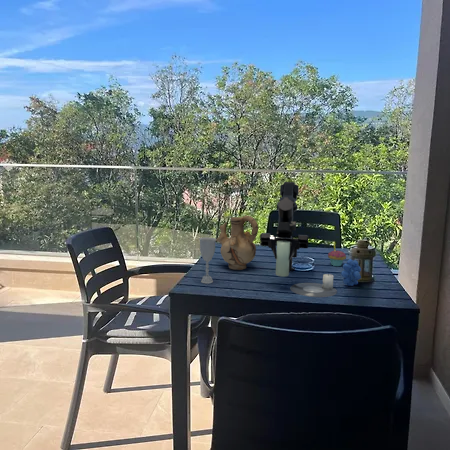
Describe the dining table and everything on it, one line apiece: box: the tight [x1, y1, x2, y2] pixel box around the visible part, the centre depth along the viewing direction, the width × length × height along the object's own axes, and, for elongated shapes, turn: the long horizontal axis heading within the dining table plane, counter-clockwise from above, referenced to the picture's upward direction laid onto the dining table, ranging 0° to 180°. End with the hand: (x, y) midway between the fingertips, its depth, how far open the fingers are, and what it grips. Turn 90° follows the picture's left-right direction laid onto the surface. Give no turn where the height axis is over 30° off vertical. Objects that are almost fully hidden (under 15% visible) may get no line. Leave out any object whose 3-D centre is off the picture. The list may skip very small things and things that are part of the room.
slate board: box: [289, 282, 338, 298], centre depth 178 cm, size 18×18×1 cm
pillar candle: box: [275, 240, 290, 278], centre depth 176 cm, size 5×5×14 cm
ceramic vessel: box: [215, 215, 259, 271], centre depth 210 cm, size 18×19×25 cm
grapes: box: [340, 258, 362, 287], centre depth 184 cm, size 12×7×12 cm, turn 128°
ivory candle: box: [322, 273, 334, 289], centre depth 180 cm, size 4×4×6 cm
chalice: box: [198, 236, 217, 284], centre depth 188 cm, size 7×7×18 cm
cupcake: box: [327, 240, 347, 267], centre depth 220 cm, size 9×8×12 cm
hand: (282, 259), depth 175 cm, fingers closed on pillar candle, 5 cm apart
